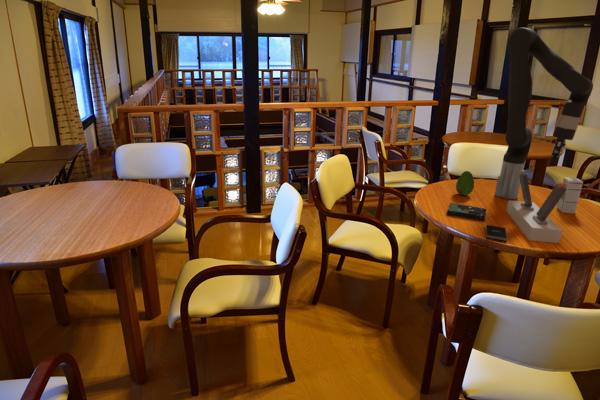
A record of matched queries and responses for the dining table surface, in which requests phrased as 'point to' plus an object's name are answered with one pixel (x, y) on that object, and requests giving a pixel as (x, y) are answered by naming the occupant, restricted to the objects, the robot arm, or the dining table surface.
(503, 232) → the external hard drive
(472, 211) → the disk drive
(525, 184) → the inner lever
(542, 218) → the outer lever
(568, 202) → the syrup box
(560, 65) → the robot arm
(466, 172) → the avocado
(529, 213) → the box
